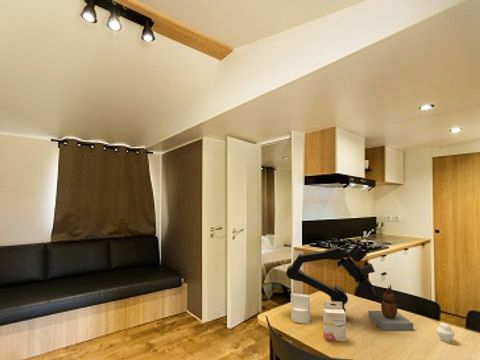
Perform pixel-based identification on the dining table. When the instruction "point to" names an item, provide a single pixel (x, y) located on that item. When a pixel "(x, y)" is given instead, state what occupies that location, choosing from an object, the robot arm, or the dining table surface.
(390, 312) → the wooden figurine
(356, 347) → the dining table surface
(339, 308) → the ink cartridge box
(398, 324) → the plinth
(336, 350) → the dining table surface
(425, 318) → the dining table surface
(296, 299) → the base with upright slab
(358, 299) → the dining table surface
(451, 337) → the muffin
